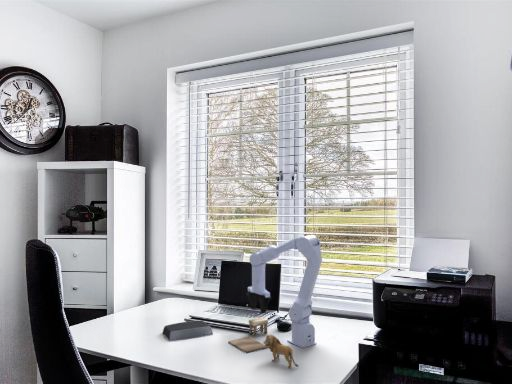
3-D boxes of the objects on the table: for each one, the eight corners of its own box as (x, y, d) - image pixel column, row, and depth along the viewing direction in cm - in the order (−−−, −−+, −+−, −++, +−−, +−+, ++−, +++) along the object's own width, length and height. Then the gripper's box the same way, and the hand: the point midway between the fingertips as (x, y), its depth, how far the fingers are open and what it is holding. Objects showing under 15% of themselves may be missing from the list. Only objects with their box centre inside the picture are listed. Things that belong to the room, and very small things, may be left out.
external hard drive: (213, 335, 187) (213, 326, 187) (169, 342, 178) (169, 332, 178) (203, 327, 198) (203, 318, 198) (161, 333, 190) (161, 324, 190)
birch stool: (267, 333, 189) (267, 319, 189) (254, 336, 185) (254, 322, 185) (262, 330, 192) (262, 317, 192) (249, 333, 189) (249, 319, 189)
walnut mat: (267, 348, 171) (267, 346, 171) (246, 353, 165) (246, 351, 165) (248, 338, 182) (248, 336, 182) (228, 342, 177) (228, 341, 177)
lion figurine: (261, 359, 158) (261, 335, 159) (270, 355, 163) (270, 331, 163) (294, 370, 149) (294, 344, 149) (302, 365, 153) (302, 340, 153)
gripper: (242, 277, 193) (241, 308, 193) (260, 283, 181) (260, 315, 180) (255, 276, 197) (255, 306, 196) (273, 281, 184) (273, 313, 184)
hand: (258, 310), depth 189 cm, fingers open, 7 cm apart
